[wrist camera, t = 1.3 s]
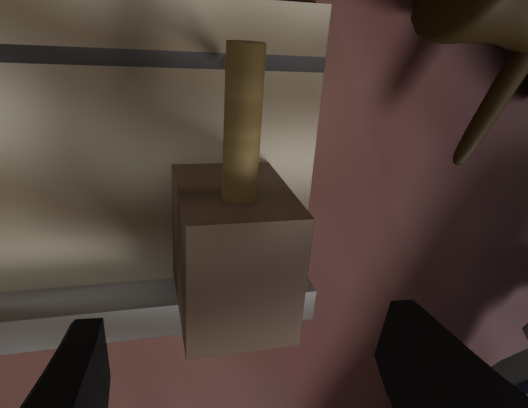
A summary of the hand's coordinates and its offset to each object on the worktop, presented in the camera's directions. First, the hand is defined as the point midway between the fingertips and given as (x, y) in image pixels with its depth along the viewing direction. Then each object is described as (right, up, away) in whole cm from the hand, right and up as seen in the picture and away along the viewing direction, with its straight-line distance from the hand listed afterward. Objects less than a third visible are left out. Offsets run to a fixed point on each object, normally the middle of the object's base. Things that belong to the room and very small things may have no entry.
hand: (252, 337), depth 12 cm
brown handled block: (-1, +5, +7) cm, 9 cm away
